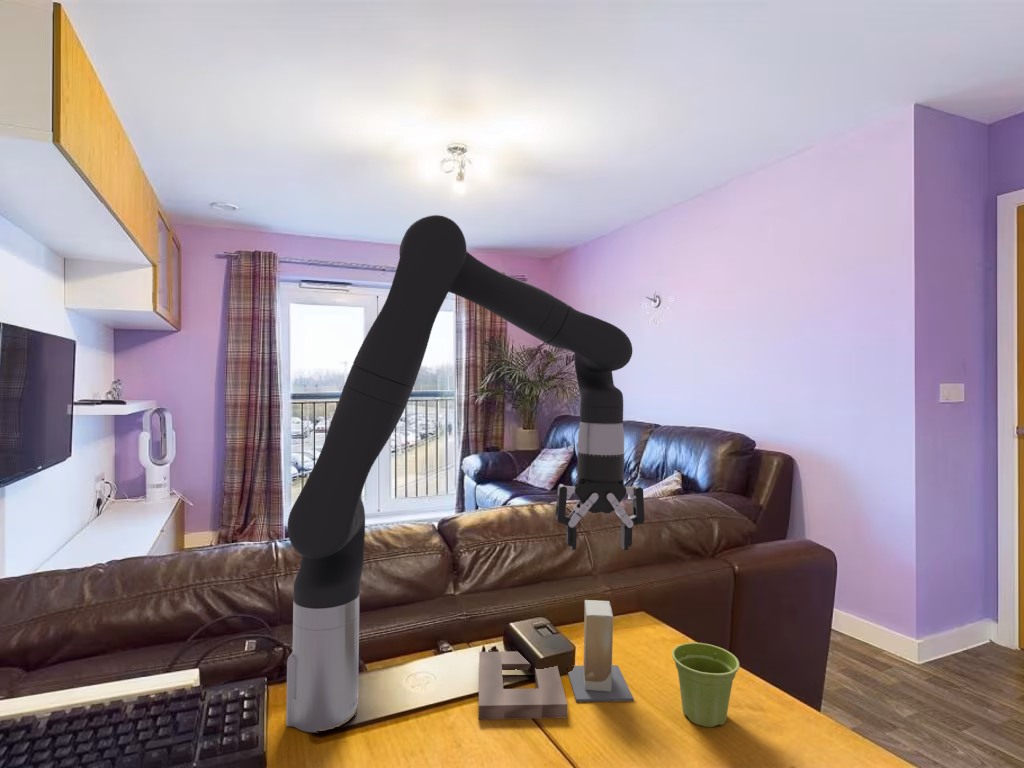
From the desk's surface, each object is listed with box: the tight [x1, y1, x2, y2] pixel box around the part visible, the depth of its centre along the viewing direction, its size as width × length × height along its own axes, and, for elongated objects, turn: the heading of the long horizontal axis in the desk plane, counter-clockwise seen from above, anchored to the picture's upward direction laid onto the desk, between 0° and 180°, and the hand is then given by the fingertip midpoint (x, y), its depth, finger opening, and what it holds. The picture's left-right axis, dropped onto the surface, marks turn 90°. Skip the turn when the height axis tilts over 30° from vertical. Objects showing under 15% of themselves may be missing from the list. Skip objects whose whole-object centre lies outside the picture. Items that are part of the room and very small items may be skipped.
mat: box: [567, 664, 635, 703], centre depth 89 cm, size 9×10×1 cm
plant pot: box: [671, 642, 740, 728], centre depth 81 cm, size 9×9×9 cm
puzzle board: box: [478, 650, 568, 720], centre depth 87 cm, size 13×16×2 cm
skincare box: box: [582, 599, 614, 692], centre depth 89 cm, size 6×4×12 cm
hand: (599, 548), depth 89 cm, fingers open, 8 cm apart
